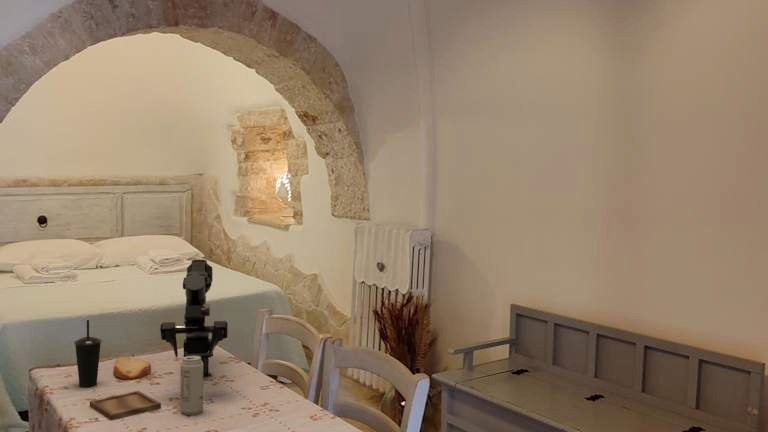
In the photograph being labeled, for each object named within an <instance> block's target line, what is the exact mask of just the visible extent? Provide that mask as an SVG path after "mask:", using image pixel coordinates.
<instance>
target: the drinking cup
mask: <svg viewBox="0 0 768 432" xmlns="http://www.w3.org/2000/svg"><path fill="white" fill-rule="evenodd" d="M101 343H102V339H101V338H99V337H95V336H90V319H87V320H86V336H84V337H80V338H78V339H76V340H75V341H74V343H73V344H74V345H75V354H76V364H77V365H76V366H77V373H78V374H77V375H78V382H79V383H78V384H79V387H80V388H87V389H88V388H93V387H96V386H97V384H98V377H99V376H98V374H99V366H100V365H99V364H100V355H101Z"/></svg>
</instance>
